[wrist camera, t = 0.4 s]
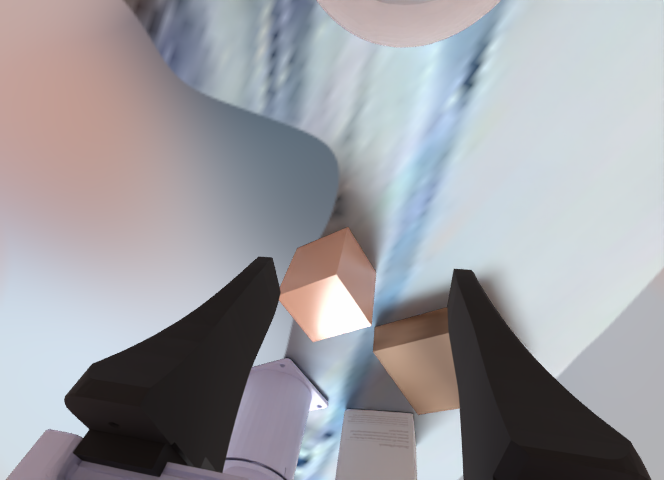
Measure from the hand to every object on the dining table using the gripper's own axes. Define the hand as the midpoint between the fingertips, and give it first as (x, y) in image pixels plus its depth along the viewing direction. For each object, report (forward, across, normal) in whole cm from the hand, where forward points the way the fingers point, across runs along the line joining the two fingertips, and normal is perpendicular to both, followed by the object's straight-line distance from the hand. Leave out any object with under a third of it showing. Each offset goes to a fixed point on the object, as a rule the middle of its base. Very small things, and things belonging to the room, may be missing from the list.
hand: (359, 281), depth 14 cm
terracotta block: (+10, +3, +7) cm, 12 cm away
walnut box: (+10, -6, +16) cm, 20 cm away
